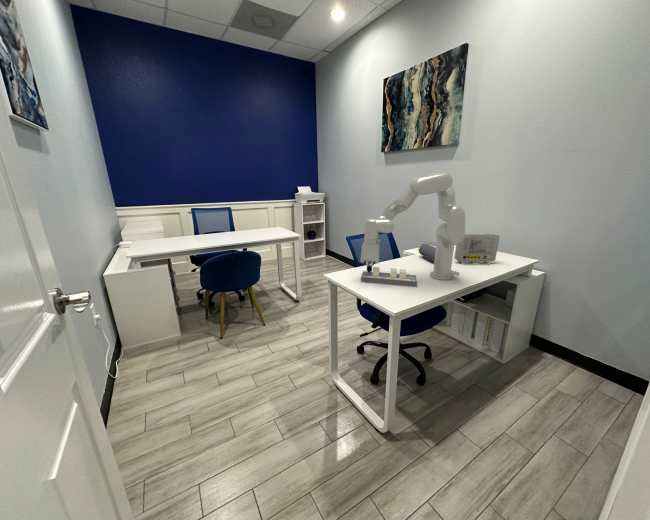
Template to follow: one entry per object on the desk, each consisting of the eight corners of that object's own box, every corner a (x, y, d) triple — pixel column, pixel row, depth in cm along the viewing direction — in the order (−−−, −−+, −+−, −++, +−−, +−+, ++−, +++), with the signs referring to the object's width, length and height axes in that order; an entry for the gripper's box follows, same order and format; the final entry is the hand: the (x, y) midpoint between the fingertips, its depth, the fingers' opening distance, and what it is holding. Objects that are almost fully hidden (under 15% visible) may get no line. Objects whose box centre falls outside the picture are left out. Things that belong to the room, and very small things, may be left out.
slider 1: (379, 273, 161) (379, 267, 160) (378, 276, 157) (378, 270, 156) (373, 272, 162) (373, 267, 161) (372, 275, 157) (372, 269, 156)
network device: (489, 261, 192) (495, 232, 186) (496, 265, 184) (502, 235, 178) (452, 261, 193) (456, 232, 187) (457, 265, 185) (462, 235, 179)
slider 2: (405, 275, 158) (406, 269, 157) (405, 278, 153) (406, 272, 152) (399, 274, 159) (399, 269, 157) (399, 277, 154) (399, 271, 153)
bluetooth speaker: (448, 265, 184) (450, 250, 181) (435, 266, 182) (437, 251, 179) (428, 255, 205) (430, 242, 202) (417, 256, 203) (418, 243, 200)
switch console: (415, 280, 159) (416, 274, 158) (416, 286, 150) (417, 281, 149) (363, 275, 166) (363, 270, 165) (361, 281, 157) (361, 276, 156)
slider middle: (396, 274, 159) (397, 268, 158) (396, 277, 154) (396, 271, 153) (390, 274, 160) (390, 268, 159) (390, 277, 155) (390, 271, 154)
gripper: (385, 240, 156) (382, 271, 162) (358, 238, 160) (357, 269, 165) (384, 243, 149) (381, 275, 155) (356, 241, 153) (355, 273, 158)
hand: (369, 272), depth 160 cm, fingers closed
